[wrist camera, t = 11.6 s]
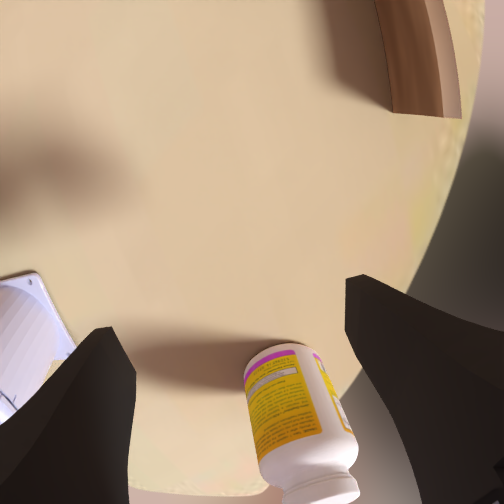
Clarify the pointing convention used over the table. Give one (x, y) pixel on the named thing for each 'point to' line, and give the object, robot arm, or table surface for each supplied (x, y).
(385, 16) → the l-shaped bracket
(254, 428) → the supplement bottle
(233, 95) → the table surface
